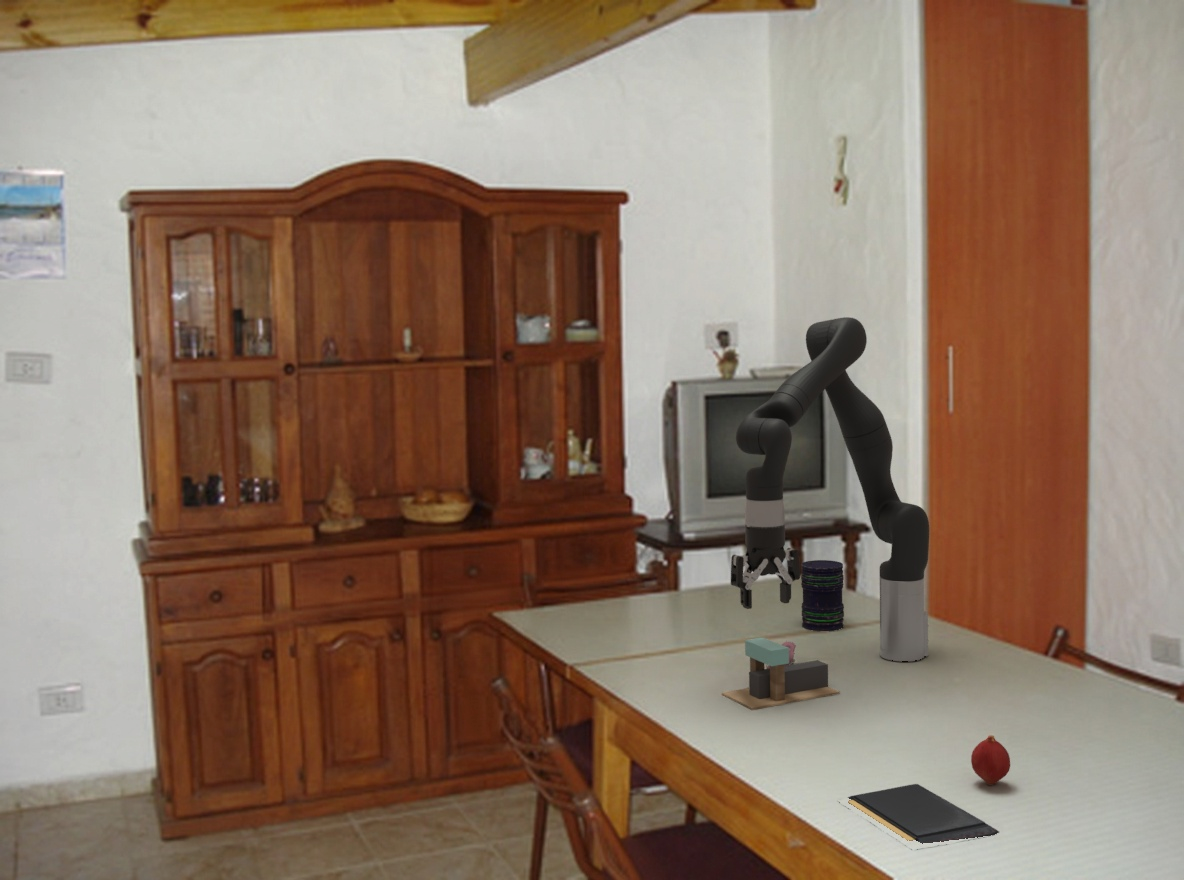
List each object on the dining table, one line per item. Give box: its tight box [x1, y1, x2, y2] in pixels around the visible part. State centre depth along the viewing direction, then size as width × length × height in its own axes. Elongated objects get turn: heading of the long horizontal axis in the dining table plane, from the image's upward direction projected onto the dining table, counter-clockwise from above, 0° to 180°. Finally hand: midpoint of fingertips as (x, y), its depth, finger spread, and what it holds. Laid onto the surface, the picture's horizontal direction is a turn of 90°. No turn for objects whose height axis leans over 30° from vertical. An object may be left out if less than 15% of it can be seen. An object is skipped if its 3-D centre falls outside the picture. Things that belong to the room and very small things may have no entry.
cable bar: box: [748, 659, 829, 699], centre depth 241 cm, size 16×4×4 cm, turn 115°
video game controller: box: [765, 640, 797, 669], centre depth 257 cm, size 10×5×7 cm, turn 169°
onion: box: [970, 734, 1011, 786], centre depth 192 cm, size 6×6×8 cm
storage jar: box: [800, 559, 845, 632], centre depth 291 cm, size 10×10×15 cm
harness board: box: [721, 657, 841, 711], centre depth 240 cm, size 20×11×7 cm, turn 115°
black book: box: [847, 783, 1000, 844], centre depth 181 cm, size 20×2×15 cm
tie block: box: [744, 637, 789, 666], centre depth 239 cm, size 4×9×3 cm, turn 25°
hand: (766, 605), depth 238 cm, fingers open, 8 cm apart
